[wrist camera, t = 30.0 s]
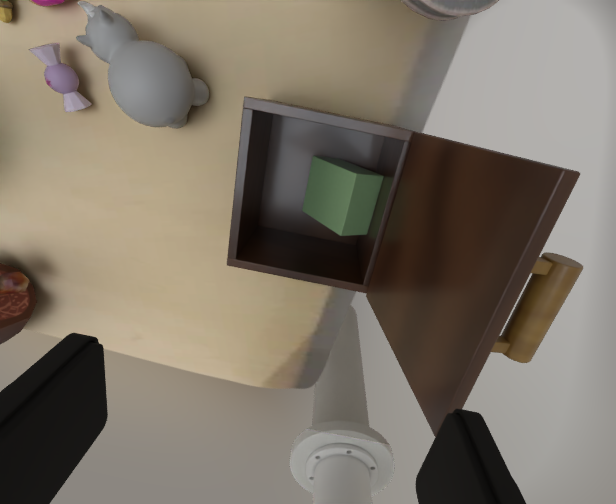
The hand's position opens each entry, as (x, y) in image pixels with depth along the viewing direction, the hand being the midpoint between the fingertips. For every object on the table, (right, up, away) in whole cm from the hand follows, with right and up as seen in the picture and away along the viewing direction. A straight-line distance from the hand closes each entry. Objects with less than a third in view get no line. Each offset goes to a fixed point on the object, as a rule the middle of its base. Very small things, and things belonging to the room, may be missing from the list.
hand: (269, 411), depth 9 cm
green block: (+2, +12, +28) cm, 30 cm away
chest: (+2, +13, +30) cm, 32 cm away
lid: (+9, +4, +13) cm, 16 cm away
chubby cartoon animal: (-14, +24, +27) cm, 38 cm away
